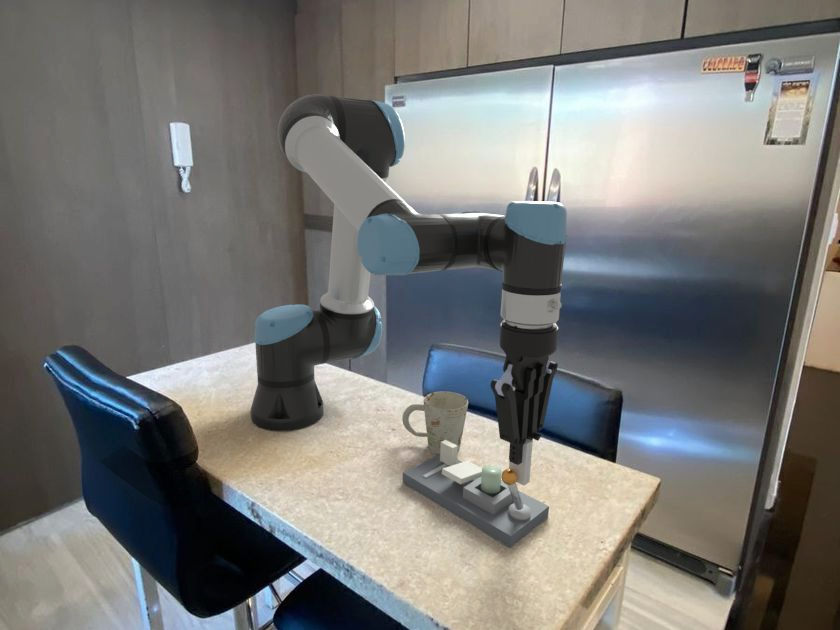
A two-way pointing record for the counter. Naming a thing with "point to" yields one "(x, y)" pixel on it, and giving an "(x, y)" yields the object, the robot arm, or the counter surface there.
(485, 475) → the button
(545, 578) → the counter surface
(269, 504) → the counter surface
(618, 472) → the counter surface
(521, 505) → the lever
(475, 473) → the plate
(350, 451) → the counter surface
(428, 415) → the mug
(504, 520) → the panel
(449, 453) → the slider
